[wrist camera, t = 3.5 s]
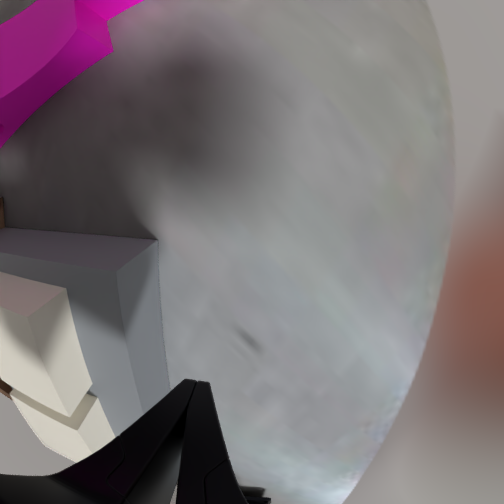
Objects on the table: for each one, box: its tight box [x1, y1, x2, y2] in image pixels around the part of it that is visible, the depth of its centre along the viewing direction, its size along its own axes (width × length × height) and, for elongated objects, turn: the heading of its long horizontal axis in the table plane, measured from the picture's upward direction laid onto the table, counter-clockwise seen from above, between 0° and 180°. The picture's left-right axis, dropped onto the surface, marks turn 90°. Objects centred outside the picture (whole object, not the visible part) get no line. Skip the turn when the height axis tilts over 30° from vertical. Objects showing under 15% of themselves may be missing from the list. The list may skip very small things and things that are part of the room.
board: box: [0, 227, 170, 437], centre depth 13 cm, size 12×16×4 cm
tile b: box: [9, 388, 115, 463], centre depth 10 cm, size 5×5×2 cm
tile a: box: [0, 272, 92, 417], centre depth 8 cm, size 5×5×2 cm
